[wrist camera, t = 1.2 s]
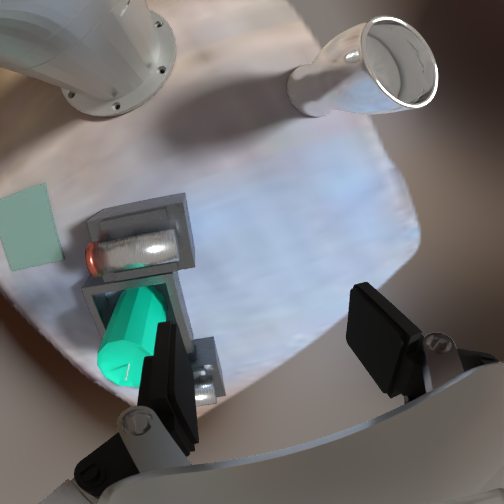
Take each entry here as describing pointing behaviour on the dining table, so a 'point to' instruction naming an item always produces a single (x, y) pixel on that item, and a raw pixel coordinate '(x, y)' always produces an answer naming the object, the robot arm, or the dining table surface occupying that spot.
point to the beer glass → (367, 72)
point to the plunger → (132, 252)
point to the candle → (131, 335)
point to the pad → (29, 229)
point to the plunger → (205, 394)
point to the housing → (153, 273)
